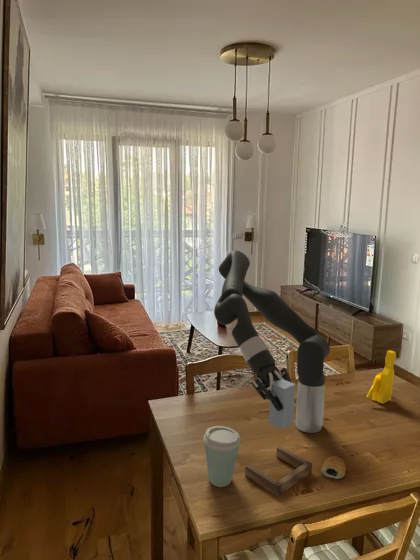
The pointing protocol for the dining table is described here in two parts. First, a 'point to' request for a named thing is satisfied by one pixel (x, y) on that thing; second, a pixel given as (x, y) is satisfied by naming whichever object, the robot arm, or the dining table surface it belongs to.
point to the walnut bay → (287, 481)
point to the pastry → (334, 467)
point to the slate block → (287, 398)
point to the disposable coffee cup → (221, 454)
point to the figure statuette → (384, 380)
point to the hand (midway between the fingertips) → (287, 406)
